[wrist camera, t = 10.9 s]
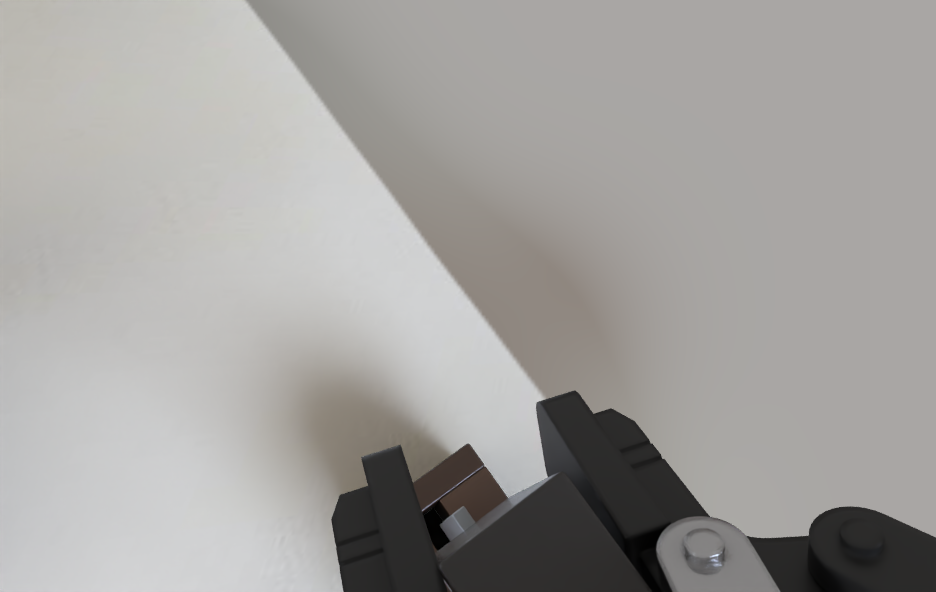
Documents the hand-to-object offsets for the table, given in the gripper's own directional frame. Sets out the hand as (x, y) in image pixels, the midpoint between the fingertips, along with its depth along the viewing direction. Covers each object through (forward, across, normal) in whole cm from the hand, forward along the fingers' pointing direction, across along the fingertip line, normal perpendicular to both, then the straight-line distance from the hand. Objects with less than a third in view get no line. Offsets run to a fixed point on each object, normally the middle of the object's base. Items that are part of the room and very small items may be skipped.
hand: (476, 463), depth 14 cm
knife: (+6, 0, +8) cm, 10 cm away
